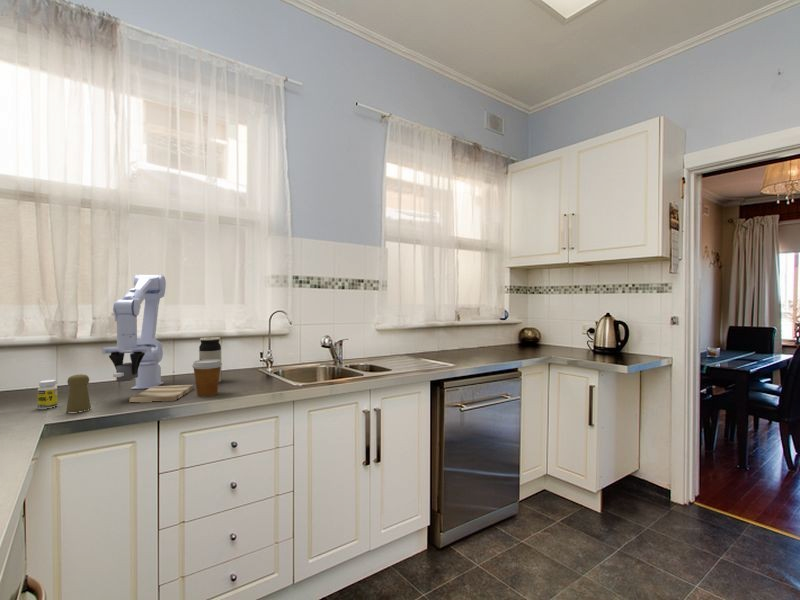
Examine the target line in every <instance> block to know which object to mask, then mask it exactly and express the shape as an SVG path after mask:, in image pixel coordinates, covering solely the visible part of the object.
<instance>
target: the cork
mask: <svg viewBox="0 0 800 600" xmlns="http://www.w3.org/2000/svg"><path fill="white" fill-rule="evenodd" d="M89 382H90V377H89V375H87V374H81V373H80V374H74V375H70V376H69V377H68V379H67V386H69V390H68V391H69V392H68V398H67V404H66V412H79V411H84V410H88V409H90V408H91V409H92V406H91V401H90V396H89V389H88V384H89ZM66 412H65V413H66Z"/></svg>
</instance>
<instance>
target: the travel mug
mask: <svg viewBox="0 0 800 600" xmlns="http://www.w3.org/2000/svg"><path fill="white" fill-rule="evenodd" d="M220 340H221V337H217V336H214V337H213V336H212V337H211V336H210V337H200V338H199V341H200V345H199V348H198V352H199V357H198V358H199V359H198V360H206V359H218V360H220V361H221V362H222V345H221V343H220ZM221 381H222V366H221V367H220V375H219V383H220V382H221Z"/></svg>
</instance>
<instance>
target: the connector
mask: <svg viewBox="0 0 800 600" xmlns="http://www.w3.org/2000/svg"><path fill="white" fill-rule="evenodd" d="M115 370H116V371H115V373H113V375H112V377H113V378H115V379H116V382H118V383H119V382H121V383H122V382H129V381H132V380H135V379H136V378H137V377H138V372H137V374H132V362H131V361H130V362H123V364H121V365H118V366H116V368H115Z"/></svg>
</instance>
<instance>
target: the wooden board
mask: <svg viewBox="0 0 800 600" xmlns="http://www.w3.org/2000/svg"><path fill="white" fill-rule="evenodd" d="M194 386H195V385H194V384H180V385H179V384H178V385H176V384H175V385H159V386H153V387H151V388H146V390H143V391H141V392H140V393H138V394H135V395H134V396H131V397H130V398H129V403H130V402H140V403H153V402H152V401H162V402H175V401H174V400H176V401H177V399H178V398H179V399H181V398H183V395H184V396H185V395H186V393H187V394H188V393H190V392H191V391H193V390H194ZM180 397H181V398H180ZM179 399H178V400H179Z"/></svg>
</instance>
